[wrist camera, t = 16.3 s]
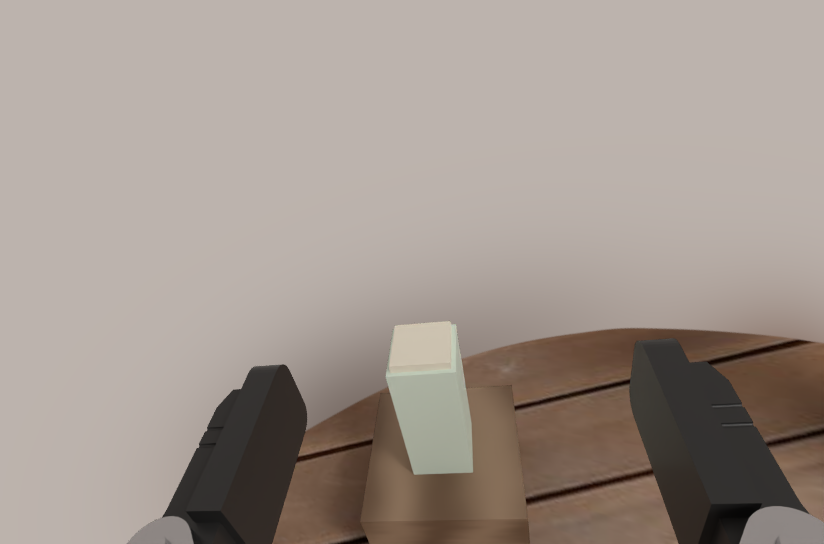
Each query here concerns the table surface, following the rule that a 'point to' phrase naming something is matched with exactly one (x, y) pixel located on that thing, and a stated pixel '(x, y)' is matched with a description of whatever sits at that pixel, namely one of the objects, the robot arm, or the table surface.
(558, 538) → the table surface
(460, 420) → the sage tin
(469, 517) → the walnut block
